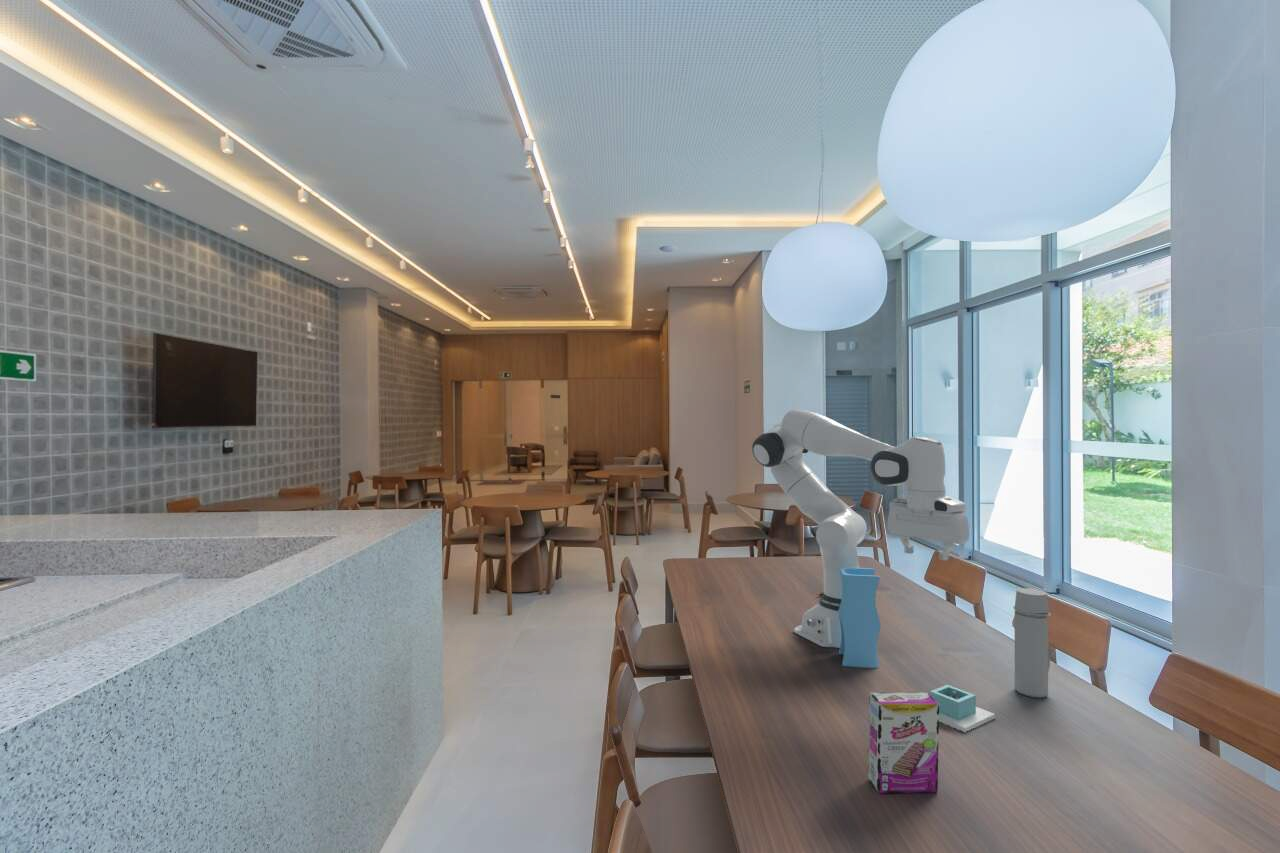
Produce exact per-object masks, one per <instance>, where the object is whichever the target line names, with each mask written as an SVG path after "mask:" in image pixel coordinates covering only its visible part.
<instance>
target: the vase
mask: <svg viewBox="0 0 1280 853" xmlns="http://www.w3.org/2000/svg"><path fill="white" fill-rule="evenodd" d="M839 569H840V575H841V580H842V590H843V592H842V600H841V604H840V607H839V610H838V615H839V620H840V625H841V644H840V648H838V655H842V657H843V658H842V664H841V665H842V667H851V668H852V667H854V668H866V669H868V668H869V669H878V668H880V664H879V658H878V656H879V655H878V640H879V634H880V631H881V621H880V617H879V615H878V610H877V604H876V596H877V589H878V585H879V583H880V579H881V576H880V575H875V568H869V567H868V568H867V567H860V568H849V567H841V568H839Z"/></svg>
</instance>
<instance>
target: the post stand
mask: <svg viewBox="0 0 1280 853" xmlns="http://www.w3.org/2000/svg"><path fill="white" fill-rule="evenodd" d="M950 697H951V698H954V699H958V697H956V692H955V691H952V696H950ZM994 719H996V714H995V713H993V712H990V711H988V710H986V709H983V708H980V707H978V706H976V713H974V714H972V715H970V716H968V717H966V718H963V719H961V720H956V719H954V718H951V717H949V716H946V715H944V714H942V713H939V723H941V722H942V724H943V725H946V726H948V725H949V727H951V728H953V729H955V728H956V729H955V730H957V731H960V730H961V731H960V732H962V731H963V732H962V733H967V732H966V731H968V732H969V730H970V731H971V729H972V730H974V729H976V728H978V727H980V726H982V725H985V724H986V723H989V722H990V721H993V720H994ZM973 728H974V729H973Z"/></svg>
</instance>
